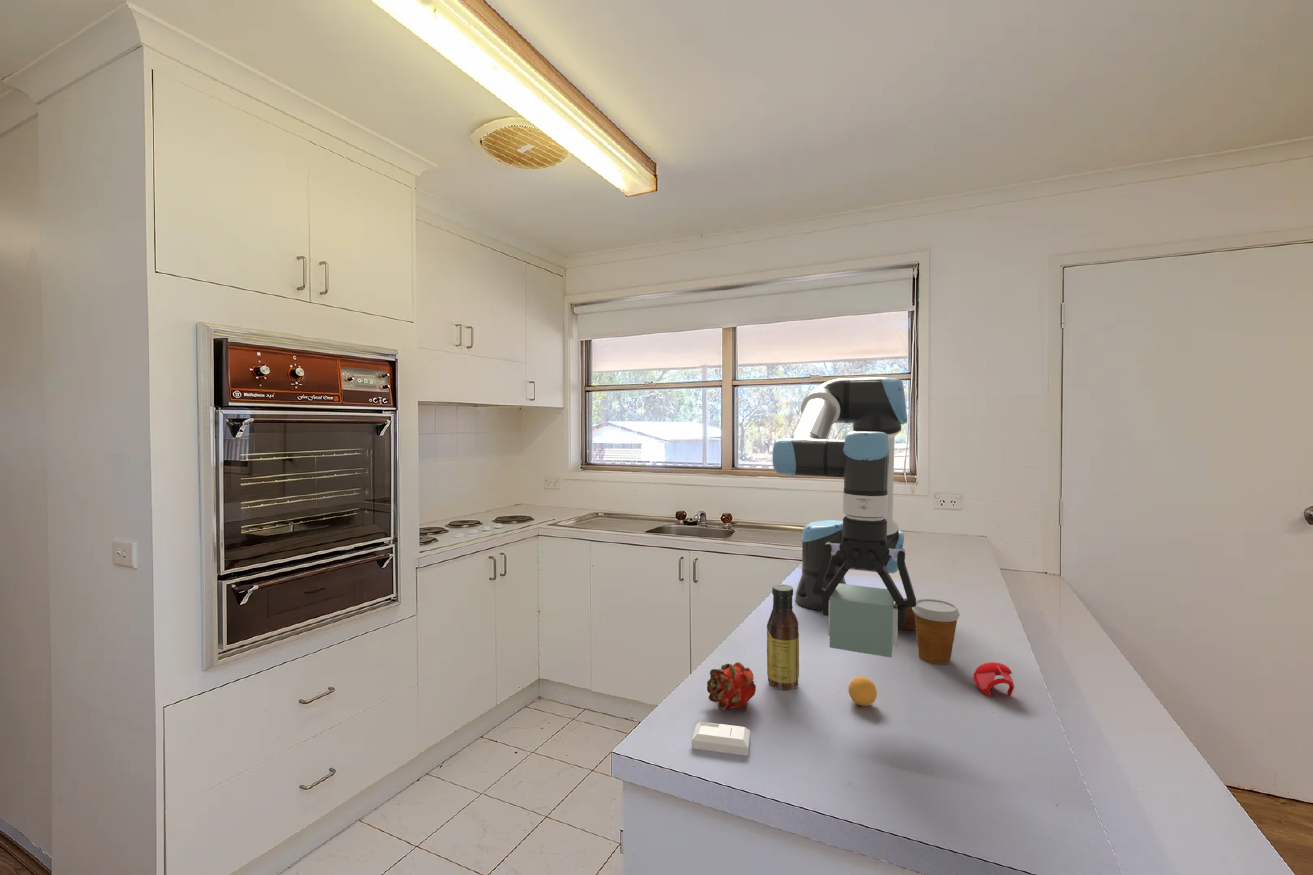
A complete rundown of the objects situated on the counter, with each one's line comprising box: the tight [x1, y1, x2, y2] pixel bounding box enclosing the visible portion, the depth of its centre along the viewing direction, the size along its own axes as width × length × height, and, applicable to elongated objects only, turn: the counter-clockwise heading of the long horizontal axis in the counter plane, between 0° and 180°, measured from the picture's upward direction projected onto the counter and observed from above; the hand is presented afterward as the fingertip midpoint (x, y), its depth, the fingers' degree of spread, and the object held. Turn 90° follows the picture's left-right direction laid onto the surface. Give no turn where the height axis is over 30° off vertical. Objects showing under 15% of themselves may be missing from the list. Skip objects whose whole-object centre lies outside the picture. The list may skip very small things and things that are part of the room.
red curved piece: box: [972, 662, 1015, 697], centre depth 112 cm, size 8×6×6 cm
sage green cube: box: [828, 583, 895, 659], centre depth 104 cm, size 10×10×9 cm
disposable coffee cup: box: [912, 598, 961, 665], centre depth 127 cm, size 10×10×12 cm
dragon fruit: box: [706, 661, 757, 712], centre depth 106 cm, size 8×8×12 cm
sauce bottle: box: [766, 584, 800, 691], centre depth 114 cm, size 7×6×20 cm
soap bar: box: [691, 721, 751, 757], centre depth 94 cm, size 5×9×3 cm, turn 77°
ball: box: [847, 676, 878, 707], centre depth 107 cm, size 5×5×5 cm
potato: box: [894, 602, 916, 631], centre depth 143 cm, size 7×10×8 cm
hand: (862, 637), depth 104 cm, fingers closed on sage green cube, 10 cm apart
